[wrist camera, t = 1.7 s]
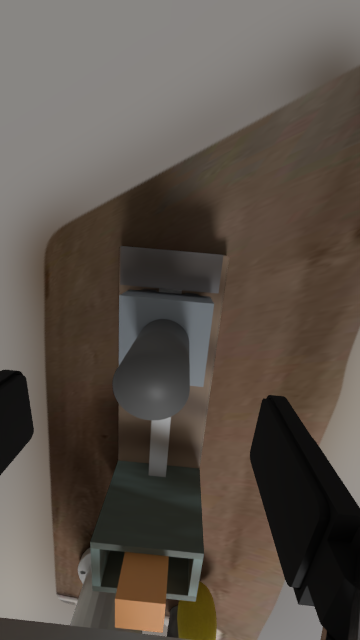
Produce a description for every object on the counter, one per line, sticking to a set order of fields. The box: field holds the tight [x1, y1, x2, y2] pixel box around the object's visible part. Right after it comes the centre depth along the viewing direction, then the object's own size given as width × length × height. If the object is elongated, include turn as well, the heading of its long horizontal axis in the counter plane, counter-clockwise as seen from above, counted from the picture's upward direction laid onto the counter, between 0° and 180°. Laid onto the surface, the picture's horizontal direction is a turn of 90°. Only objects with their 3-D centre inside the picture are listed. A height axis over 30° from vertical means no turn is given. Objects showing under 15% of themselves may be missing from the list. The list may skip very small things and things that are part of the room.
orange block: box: [115, 552, 169, 633], centre depth 20 cm, size 4×4×4 cm
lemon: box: [177, 581, 217, 640], centre depth 31 cm, size 6×6×8 cm
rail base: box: [90, 246, 229, 602], centre depth 21 cm, size 32×10×10 cm, turn 175°
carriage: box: [113, 289, 214, 420], centre depth 16 cm, size 7×7×10 cm
